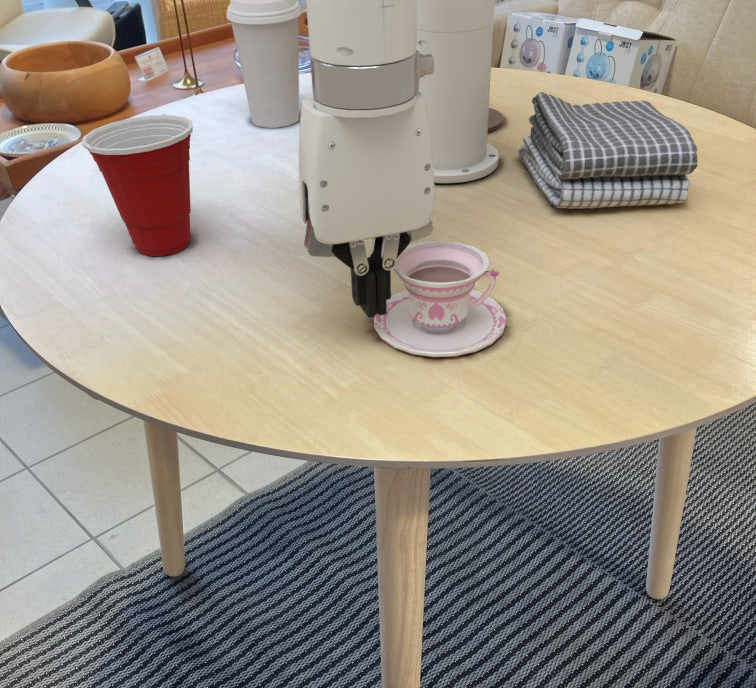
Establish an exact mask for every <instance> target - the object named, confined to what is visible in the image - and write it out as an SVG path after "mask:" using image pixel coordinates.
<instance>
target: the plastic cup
mask: <svg viewBox="0 0 756 688" xmlns="http://www.w3.org/2000/svg"><path fill="white" fill-rule="evenodd" d="M193 125H194V124H193V120H191V119H190V118H187V117H185V116H182V115H174V114H154V115H153V114H151V115H143V116H137V117H130V118H127V119H121V120H118V121H113V122H110V123H107V124H104V125H102V126H100V127H97V128H94V129H92V130H91V131H89V132H88V133H86V134H85V135H84V136H83V137H82V140H81V145H82V147H83V148H84V149H86V150H87V151H88V153H89V154H90V155H91V157H92V159H93V161H94V162H95V163H96V166H97V168H98V170H99V172H100V173H101V174H102V177H103V179H104V181H105V183H106V186H107V188H108V190H109V192H110V195H111V197H112V199H113V202H114V205H115V207H116V208H117V211H118V214H119V215H120V217H121V220H122V221H123V223H124V225H125V227H126V230H127V232H128V235H129V237H130V239H131V242H132V244H133V245H134V247H135V249H136V250H137V251H138V252H139V253H140V254H142V255H145V256H148V257H164V256H171V255H174V254H178V253H180V252H181V251H183V250H185V249H186V248H187V247H188V246H189V245H190V243H191V239H190V238H191V213H192V212H191V210H192V209H191V182H190V180H191V179H190V160H191V158H190V157H191V155H190V150H191V144H190V143H191V142H190V141H191V136H192V134H193V130H194V129H193V128H194V126H193Z"/></svg>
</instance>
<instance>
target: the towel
mask: <svg viewBox="0 0 756 688" xmlns="http://www.w3.org/2000/svg"><path fill="white" fill-rule="evenodd" d="M531 103H532V104H533V106H534V107H533V108H534V109H533V110H534V114H533V115H531V116H529V118H528V121H529V124H530V125H531V128H530V134H529V135H527V136H525V137H524V138H523V139H522V141H523V143H524V144H523V145H522V146H521V147H520V148H519V149H518V155H519V160H520V162H522V164H523V165H524V166H525V168H526V169H527V170H528V172H529V174H530V176H531V177H532V179H533V181H534V183H535V184H536V186H537V187H538V188H539V190H540V191H541V192H542V195H544V197H545V198H546V199H547V201H548V202H549V204H550V205H552V206H553V207H555V208H557V209H595V208H596V209H600V208H612V207H634V206H635V207H640V206H653V205H654V206H660V205H672V204H673V205H674V204H680V203H686V202H687V201H688V199H689V189H690V185H691V182H690V179H689V178H688V177H687V175H691V174H692V173H694V171H695V170H696V169H697V168H698V164H699V163H698V153H697V151H698V148H697V145H696V143H695V140H694V139H693V137H692V135H691V133H690V131H689V130H688V129H687V128H686V127H685V126H684V125H682V124H681V123H680V122H678V121H676V119H673V118H670V117H668V116H666V115H664V114H663V113H661V112H660V111H659V110H658V109H657V108H655V107H654V105H652V103H651V102H649V101H648V100H640V101H639V100H631V101H628V100H627V101H626V100H625V101H624V100H622V101H612V102H607V101H606V102H601V103H599V102H595V103H594V102H593V103H586V104H581V105H579V104H571V103H570V102H567V101H564V100H563V99H562V98H560V97H555V96H554V95H552V94H547V93H545V92H542V91H540V92H538V93H537V94H536V95H535V96H534V97H533V98H532V99H531Z"/></svg>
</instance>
